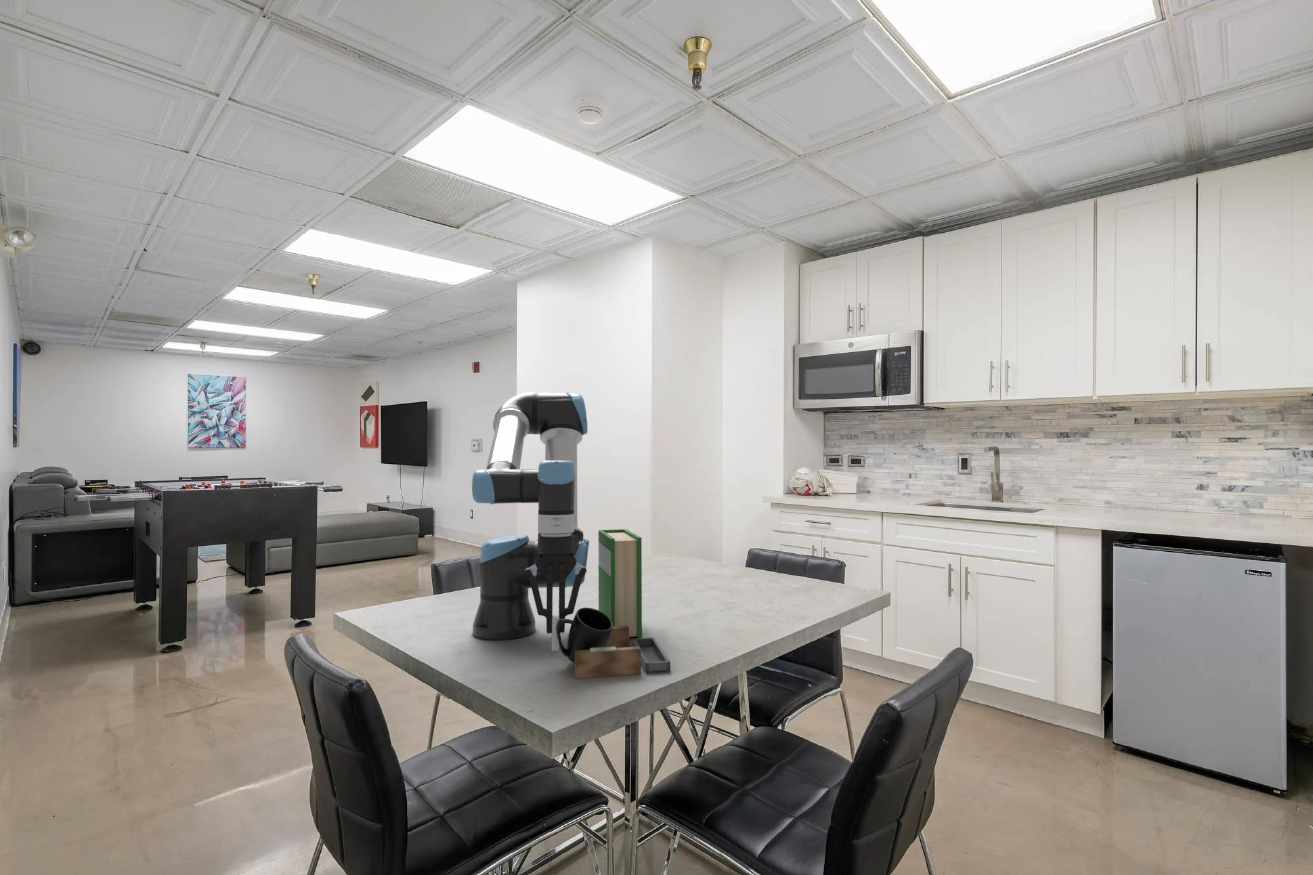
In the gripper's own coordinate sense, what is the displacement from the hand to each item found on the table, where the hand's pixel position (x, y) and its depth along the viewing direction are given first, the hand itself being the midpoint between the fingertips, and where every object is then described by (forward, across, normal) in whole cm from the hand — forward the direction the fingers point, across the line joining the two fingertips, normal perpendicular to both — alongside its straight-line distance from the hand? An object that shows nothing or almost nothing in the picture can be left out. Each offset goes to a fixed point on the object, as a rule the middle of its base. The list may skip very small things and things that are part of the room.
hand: (555, 648), depth 129 cm
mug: (+2, +3, 0) cm, 4 cm away
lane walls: (+4, +10, 0) cm, 11 cm away
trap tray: (+4, +20, +1) cm, 20 cm away
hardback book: (+4, +16, +24) cm, 29 cm away
